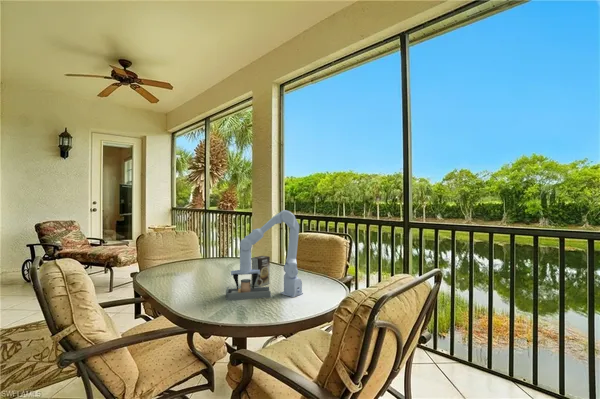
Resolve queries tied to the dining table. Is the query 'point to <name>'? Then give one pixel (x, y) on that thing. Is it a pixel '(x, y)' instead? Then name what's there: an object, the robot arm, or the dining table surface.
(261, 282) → the coffee box
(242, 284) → the jar
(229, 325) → the dining table surface
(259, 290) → the tray
